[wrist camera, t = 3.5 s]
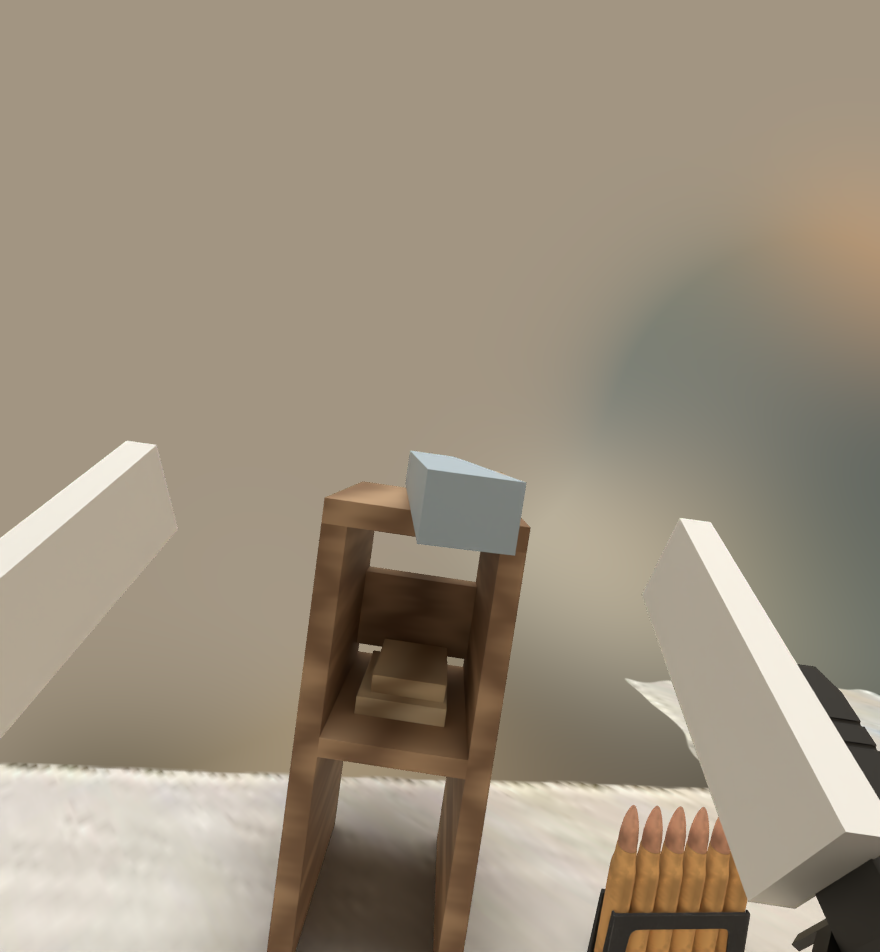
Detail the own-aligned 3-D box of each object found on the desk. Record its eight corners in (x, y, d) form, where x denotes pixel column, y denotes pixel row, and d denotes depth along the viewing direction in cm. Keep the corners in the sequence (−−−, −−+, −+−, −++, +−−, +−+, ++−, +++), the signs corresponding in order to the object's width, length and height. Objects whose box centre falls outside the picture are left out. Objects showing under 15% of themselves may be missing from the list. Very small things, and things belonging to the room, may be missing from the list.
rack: (264, 972, 30) (329, 456, 28) (317, 820, 42) (366, 452, 40) (455, 1002, 30) (537, 486, 27) (454, 841, 42) (510, 473, 39)
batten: (417, 543, 19) (427, 469, 19) (405, 483, 43) (410, 450, 43) (515, 555, 19) (526, 482, 19) (449, 489, 43) (454, 456, 43)
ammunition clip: (597, 985, 32) (628, 816, 31) (585, 955, 34) (614, 794, 33) (740, 981, 33) (773, 820, 33) (721, 952, 35) (751, 799, 34)
